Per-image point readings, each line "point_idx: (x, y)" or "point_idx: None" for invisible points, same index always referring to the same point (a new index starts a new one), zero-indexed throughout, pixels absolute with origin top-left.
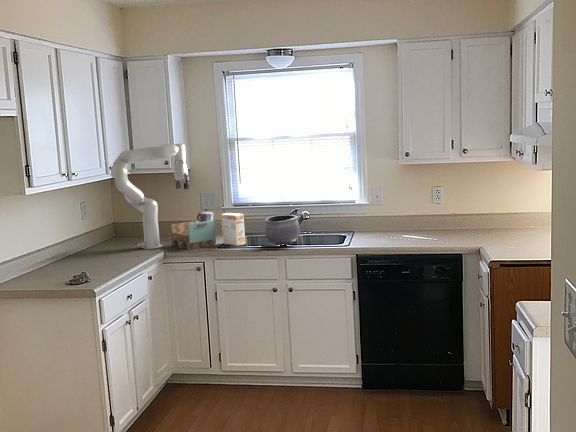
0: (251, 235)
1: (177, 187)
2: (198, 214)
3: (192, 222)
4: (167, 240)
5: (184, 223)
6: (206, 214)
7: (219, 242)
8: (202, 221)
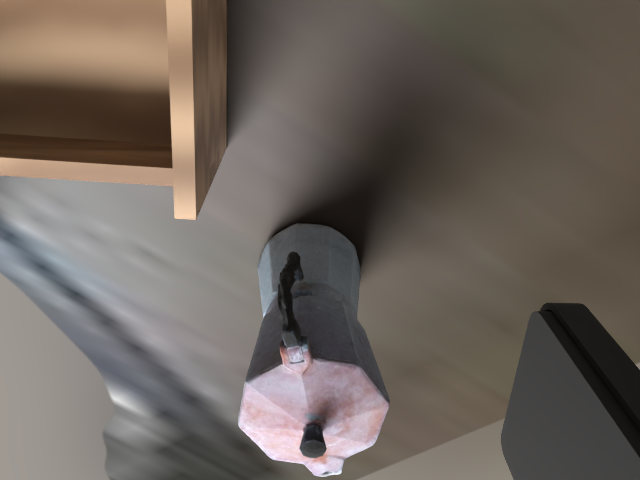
0: (130, 463)
1: (547, 355)
2: (285, 312)
3: (172, 129)
4: (547, 18)
5: (167, 9)
6: (248, 377)
7: (47, 209)
8: (297, 309)
